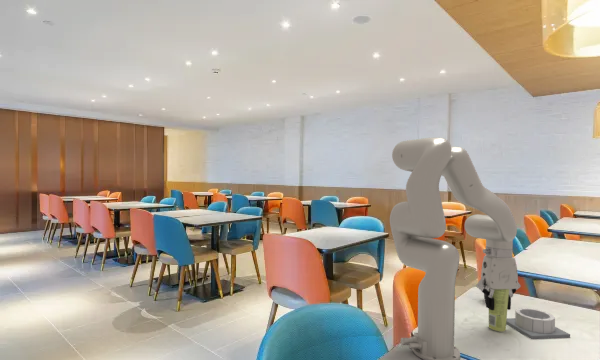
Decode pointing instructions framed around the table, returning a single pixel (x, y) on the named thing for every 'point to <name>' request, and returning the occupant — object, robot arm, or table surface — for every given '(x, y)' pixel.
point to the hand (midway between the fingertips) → (498, 307)
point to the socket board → (537, 335)
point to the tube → (499, 310)
